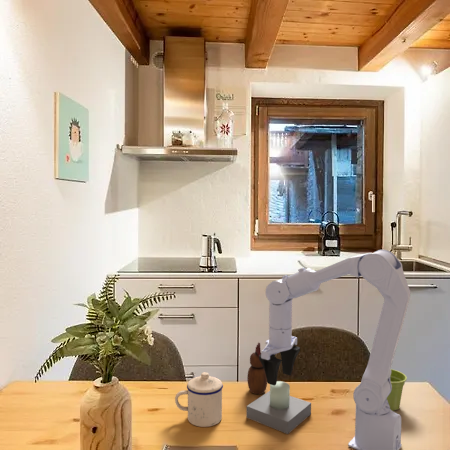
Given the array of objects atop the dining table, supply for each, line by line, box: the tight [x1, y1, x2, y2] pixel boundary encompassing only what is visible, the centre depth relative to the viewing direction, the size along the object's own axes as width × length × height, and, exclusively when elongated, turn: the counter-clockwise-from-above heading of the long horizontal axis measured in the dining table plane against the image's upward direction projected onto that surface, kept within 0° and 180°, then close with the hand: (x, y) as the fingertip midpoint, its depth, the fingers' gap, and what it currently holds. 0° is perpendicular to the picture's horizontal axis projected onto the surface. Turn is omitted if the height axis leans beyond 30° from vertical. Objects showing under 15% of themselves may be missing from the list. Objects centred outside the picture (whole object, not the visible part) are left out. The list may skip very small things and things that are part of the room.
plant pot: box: [387, 368, 408, 412], centre depth 112 cm, size 9×9×9 cm
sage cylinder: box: [269, 380, 291, 409], centre depth 106 cm, size 5×5×5 cm
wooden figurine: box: [247, 342, 268, 395], centre depth 119 cm, size 7×6×15 cm
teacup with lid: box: [174, 371, 224, 428], centre depth 104 cm, size 12×9×12 cm
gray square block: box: [245, 390, 312, 435], centre depth 106 cm, size 12×12×3 cm
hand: (279, 378), depth 106 cm, fingers open, 7 cm apart
